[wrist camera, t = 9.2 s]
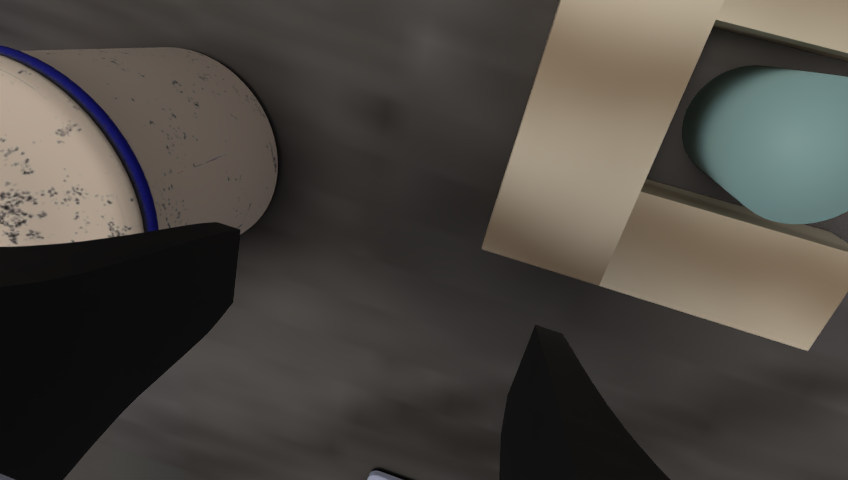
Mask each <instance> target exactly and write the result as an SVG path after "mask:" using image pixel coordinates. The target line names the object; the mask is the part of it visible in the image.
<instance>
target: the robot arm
mask: <svg viewBox="0 0 848 480" xmlns="http://www.w3.org/2000/svg"><path fill="white" fill-rule="evenodd" d="M239 240H240V229H237V228H234V227H231V226H228V225H225V224H221V223H218V222H209V223H199V224H192V225H185V226H179V227H173V228H167V229H161V230H155V231H149V232H143V233H137V234H131V235H124V236H117V237H110V238H103V239H95V240H88V241H81V242H71V243H61V244H48V245H33V246H15V247H0V480H63V479H64V478H65V477H66V476H67V474H68V473H69V472H70V471H71V470H72V469H73V467H74V466H75V465H76V464H77V463H78V462H79V460H80V459H81V458H82V457H83V456H84V454H85V453H86V452H87V451H88V450H89V449H90V447H91V446H92V445H93V444H94V443H95V442H96V441H97V440H98V438H99V437H100V436H101V435H102V434H103V433H104V432H105V431H106V430H107V428H108V427H109V426H110V425H111V424H112V423H113V422H114V421H115V420H116V418H117V417H118V416H119V415H120V414H121V413H122V412H123V411H124V410H125V409H126V408H127V407H128V406H129V405H130V404H131V403H132V402H133V401H134V400H135V399H136V398H137V397H138V396H139V395H140V394H141V393H142V392H144V391H145V390H146V389H147V388H148V387H149V386H150V385H151V384H152V383H154V382H155V381H156V380H157V379H158V378H159V377H160V376H161V375H162V374H164V373H165V372H166V371H167V370H168V369H169V368H170V367H171V366H172V365H174V364H175V363H176V362H177V361H178V360H179V359H180V358H181V357H182V356H184V355H185V354H186V353H187V352H188V351H189V350H190V349H191V348H192V347H193V346H194V345H195V344H197V343H198V342H199V341H200V340H201V339H202V338H203V337H204V336H205V335H206V334H207V333H208V332H209V331H210V330H211V329H212V328H213V326H214V325H215V324H216V323H217V322H218V320H219V319H220V318H221V317H222V316H223V314H224V313H225V312H226V310H227V309H228V308H229V307H230V305H231V304H232V303H233V297H234V287H235V278H236V268H237V259H238V249H239ZM367 480H403V479H400V478H397V477H394V476H392V475H389V474H386V473H383V472H381V471H372V472H370V474H369V476H368V479H367ZM500 480H670V479H669V478H668V477H667V476H666V475H665V474H664V473H663V472H662V471H661V470H660V468H659V467H658V466H657V465H656V464H655V463H654V462H653V461H652V460H651V458H650V457H649V456H648V455H647V454H646V453H645V452H644V451H643V449H642V448H641V447H640V446H639V445H638V444H637V443H636V441H635V440H634V439H633V438H632V437H631V435H630V434H629V433H628V432H627V430H626V429H625V428H624V427H623V425H622V424H621V423H620V421H619V420H618V418H617V417H616V416H615V414H614V413H613V412H612V410H611V409H610V408H609V406H608V405H607V404H606V402H605V401H604V399H603V398H602V396H601V395H600V393H599V392H598V390H597V389H596V387H595V386H594V384H593V383H592V381H591V380H590V378H589V377H588V375H587V373H586V372H585V370H584V369H583V367H582V365H581V364H580V362H579V360H578V359H577V357H576V355H575V354H574V352H573V350H572V349H571V347H570V345H569V344H568V342H567V340H566V339H565V337H564V336H563V334H561V333H558V332H555V331H552V330H549V329H546V328H543V327H540V326H537V325H535V327H534V330H533V333H532V335H531V338H530V340H529V343H528V345H527V348H526V350H525V353H524V355H523V358H522V360H521V363H520V365H519V368H518V371H517V373H516V376H515V378H514V381H513V383H512V386H511V388H510V391H509V393H508V396H507V402H506V408H505V414H504V420H503V426H502V432H501V451H500Z"/></svg>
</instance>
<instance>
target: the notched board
mask: <svg viewBox="0 0 848 480" xmlns="http://www.w3.org/2000/svg"><path fill="white" fill-rule="evenodd" d="M712 27H715V28H719V29H723V30H727V31H731V32H735V33H739V34H743V35H746V36H750V37H754V38H758V39H762V40H766V41H770V42H774V43H778V44H781V45H785V46H789V47H793V48H797V49H801V50H805V51H809V52H813V53H816V54H820V55H824V56H828V57H832V58H836V59H840V60H844V61H848V0H560V1H559V4H558V8H557V11H556V14H555V17H554V20H553V23H552V26H551V29H550V33H549V36H548V39H547V42H546V45H545V48H544V51H543V55H542V58H541V61H540V64H539V67H538V70H537V73H536V76H535V80H534V83H533V86H532V89H531V92H530V95H529V98H528V101H527V105H526V108H525V111H524V114H523V117H522V120H521V123H520V126H519V130H518V133H517V136H516V139H515V142H514V145H513V148H512V152H511V155H510V158H509V161H508V164H507V167H506V170H505V173H504V177H503V180H502V183H501V186H500V189H499V192H498V195H497V198H496V202H495V205H494V208H493V211H492V214H491V217H490V220H489V223H488V227H487V230H486V234H485V237H484V241H483V244H482V248H481V249H483V250H486V251H489V252H492V253H496V254H499V255H502V256H505V257H508V258H512V259H515V260H518V261H521V262H524V263H528V264H531V265H534V266H537V267H540V268H544V269H547V270H550V271H553V272H556V273H560V274H563V275H566V276H569V277H572V278H576V279H579V280H582V281H585V282H588V283H592V284H595V285H598V286H601V287H604V288H608V289H611V290H614V291H617V292H621V293H624V294H627V295H630V296H633V297H637V298H640V299H643V300H646V301H649V302H653V303H656V304H659V305H662V306H665V307H669V308H672V309H675V310H678V311H681V312H685V313H688V314H691V315H694V316H697V317H701V318H704V319H707V320H710V321H713V322H717V323H720V324H723V325H726V326H729V327H733V328H736V329H739V330H742V331H745V332H749V333H752V334H755V335H758V336H761V337H765V338H768V339H771V340H774V341H777V342H781V343H784V344H787V345H790V346H793V347H797V348H800V349H803V350H806V351H808V350H809V349H810V347H811V346H812V344H813V343H814V341H815V340H816V338H817V337H818V335H819V334H820V332H821V331H822V329H823V328H824V326H825V325H826V323H827V322H828V320H829V319H830V317H831V316H832V314H833V313H834V311H835V310H836V308H837V307H838V305H839V304H840V302H841V301H842V299H843V298H844V296H845V295H846V293H847V292H848V243H846V242H845V241H843V240H842V239H840V238H839V237H837V236H836V235H834V234H833V233H831V232H829V231H825V230H822V229H819V228H815V227H812V226H808V225H805V224H785V223H779V222H774V221H771V220H768V219H765V218H763V217H761V216H759V215H757V214H755V213H753V212H752V211H751V210H749V209H748V208H746V207H742V206H739V205H736V204H732V203H729V202H725V201H722V200H718V199H715V198H711V197H708V196H704V195H701V194H697V193H694V192H691V191H687V190H684V189H680V188H677V187H673V186H670V185H666V184H663V183H659V182H656V181H652V180H649V179H646V178H647V175H648V173H649V171H650V168H651V166H652V164H653V162H654V159H655V157H656V155H657V153H658V150H659V148H660V146H661V143H662V141H663V139H664V137H665V134H666V132H667V130H668V127H669V125H670V123H671V121H672V118H673V116H674V114H675V112H676V109H677V107H678V105H679V102H680V100H681V98H682V96H683V93H684V91H685V89H686V86H687V84H688V82H689V80H690V77H691V75H692V73H693V71H694V68H695V66H696V64H697V61H698V59H699V57H700V55H701V52H702V50H703V48H704V45H705V43H706V41H707V39H708V36H709V34H710V32H711V29H712Z"/></svg>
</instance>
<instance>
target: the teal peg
mask: <svg viewBox="0 0 848 480" xmlns="http://www.w3.org/2000/svg"><path fill="white" fill-rule="evenodd" d="M682 139H683V144H684V147H685V150H686V152H687V154H688V156H689V158H690V159H691V160H692V162H693V163H694V164H695V165H696V166H697V167H698V168H700V169H701V170H702V171H703V172H704V173H706V174H707V175H708V176H709V177H710V178H712V179H713V180H714V181H715V182H716V183H718V184H719V185H720V186H721V187H722V188H724V189H725V190H726V191H727V192H728V193H730V194H731V195H732V196H733V197H734V198H736V199H737V200H738V201H739V202H740V203H742V204H743V205H744V206H745V207H747V208H748V209H749V210H751V211H752V212H753V213H755V214H757V215H759V216H761V217H763V218H765V219H768V220H771V221H774V222H779V223H785V224H808V223H815V222H820V221H824V220H827V219H830V218H833V217H836V216H838V215H841V214H843V213H845V212H847V211H848V77H844V76H838V75H830V74H822V73H814V72H807V71H799V70H791V69H784V68H776V67H768V66H756V65H755V66H745V67H739V68H736V69H733V70H730V71H727V72H725V73H723V74H721V75H719V76H717V77H716V78H714V79H713V80H711V81H710V82H709V83H707V84H706V85H705V86H704V87H703V88H702V89H701V90H700V91H699V92H698V93H697V94H696V96H695V97H694V98H693V100H692V101H691V103H690V105H689V107H688V109H687V111H686V114H685V116H684V121H683V126H682Z"/></svg>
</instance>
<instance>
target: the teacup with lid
mask: <svg viewBox="0 0 848 480" xmlns="http://www.w3.org/2000/svg"><path fill="white" fill-rule="evenodd" d="M277 173H278V156H277V149H276V143H275V139H274V135H273V132H272V129H271V126H270V123H269V121H268V118H267V116H266V114H265V112H264V110H263V108H262V107H261V105H260V104H259V102H258V100H257V99H256V97H255V96H254V95H253V93H252V92H251V91H250V89H249V88H248V87H247V86H246V85H245V84H244V83H243V82H242V81H241V80H240V79H239V78H238V77H237V76H236V75H235V74H234V73H233V72H231V71H230V70H229V69H228V68H226V67H225V66H223V65H222V64H220V63H219V62H217V61H215V60H214V59H212V58H210V57H208V56H206V55H203V54H201V53H198V52H195V51H192V50H187V49H182V48H174V47H156V48H118V49H79V50H40V51H18V50H15V49H12V48H9V47H5V46H0V247H15V246H33V245H48V244H61V243H71V242H81V241H88V240H95V239H103V238H110V237H117V236H124V235H131V234H137V233H143V232H149V231H155V230H161V229H167V228H173V227H179V226H185V225H192V224H199V223H209V222H218V223H221V224H225V225H228V226H231V227H234V228H237V229H240V235H241V234H242V233H244V232H245V231H246V230H248V229H249V228H251V227H252V226H253V225H254V224H255V223H256V222H257V221H258V220H259V219H260V217H261V216H262V215H263V213H264V212H265V210H266V209H267V207H268V205H269V203H270V201H271V199H272V196H273V193H274V190H275V186H276V181H277Z"/></svg>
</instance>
